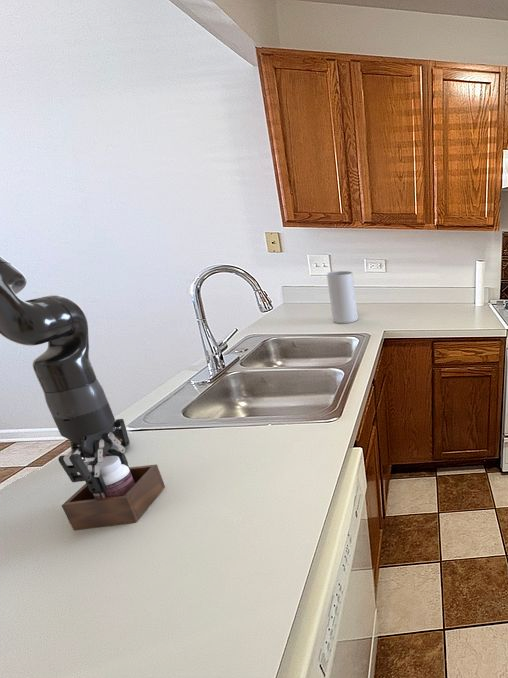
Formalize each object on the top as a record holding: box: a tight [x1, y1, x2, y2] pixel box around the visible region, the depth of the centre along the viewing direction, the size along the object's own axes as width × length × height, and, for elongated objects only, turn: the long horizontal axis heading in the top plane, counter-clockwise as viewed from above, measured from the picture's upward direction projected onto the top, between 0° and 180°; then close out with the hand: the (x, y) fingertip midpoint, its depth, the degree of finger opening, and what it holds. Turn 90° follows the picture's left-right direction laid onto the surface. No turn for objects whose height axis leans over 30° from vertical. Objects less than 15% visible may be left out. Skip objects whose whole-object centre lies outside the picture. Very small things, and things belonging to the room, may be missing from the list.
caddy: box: [61, 464, 166, 531], centre depth 80 cm, size 11×11×6 cm
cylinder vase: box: [326, 270, 359, 324], centre depth 206 cm, size 12×12×25 cm
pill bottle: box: [88, 456, 135, 499], centre depth 79 cm, size 6×6×11 cm
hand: (111, 480), depth 79 cm, fingers closed on pill bottle, 6 cm apart
